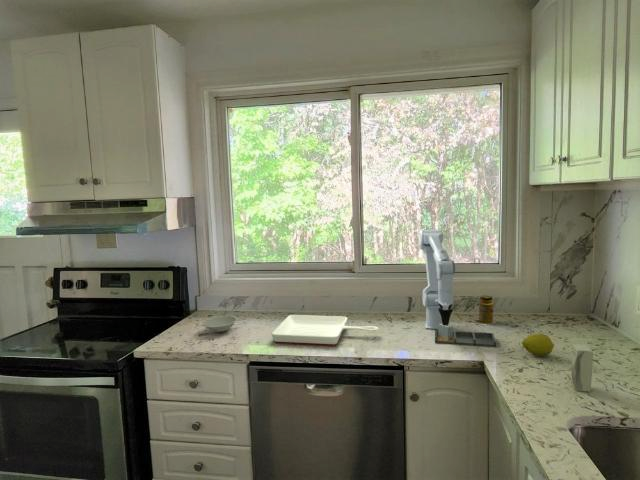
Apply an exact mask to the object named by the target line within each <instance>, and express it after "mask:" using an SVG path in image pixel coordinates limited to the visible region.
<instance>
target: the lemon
mask: <svg viewBox="0 0 640 480" xmlns="http://www.w3.org/2000/svg"><path fill="white" fill-rule="evenodd" d="M521 343H522V344H521V345H522V347H523V348H524V349H525V350H526V351H527V352H528V353H530V354H531V355H533V356H535V357H536V356H537V357H546V356H548V355H550V354H551V353H552V352H553V349H554V348H555V344H554V342H553V341H552V340H551V338H550V337H549V336H547V335H546V334H541V333H534V334H530V335H528V336H527V337H526V338H524V339H523V340H522V341H521Z"/></svg>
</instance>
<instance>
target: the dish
mask: <svg viewBox="0 0 640 480" xmlns="http://www.w3.org/2000/svg"><path fill="white" fill-rule="evenodd" d="M237 321H238V317H237V316H234V315H220V316H219V315H218V316H215V317H211V318H209V319H208V318H207V319H206V320H204V321H203V322H202V325H203V327H205V328H206V329H208V330H209V331H211V332H214V333H215V332H216V333H222V332H225V331H227V330H229V329H230V328H232V327H233V326H234V324H235V323H236V322H237Z"/></svg>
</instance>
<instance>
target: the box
mask: <svg viewBox="0 0 640 480" xmlns="http://www.w3.org/2000/svg"><path fill="white" fill-rule="evenodd" d="M590 347H591V346H589V345H584V344H572V358H571V374H570V375H571V376H570V384H571V386H572V388H573V390H574V391H578V392H586V391H587V392H586V393H588V392H589V393H591V392H592V379H593V378H592V376H593V362H594V360H593V359H594V350H592V348H590Z"/></svg>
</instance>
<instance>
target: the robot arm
mask: <svg viewBox="0 0 640 480" xmlns="http://www.w3.org/2000/svg"><path fill="white" fill-rule="evenodd" d="M443 239H444V233H443V230H441V229H426V230H425V229H420V231H419V232H418V243H419V248H420V250H422V251H423V254H424V259H425V261H424V262H425V269H426V270H425V271H426V280H427V286H426V287H425V288H423V289H422V292H421V293H422V300H421V301H422V305H423V307H425V308H426V309H425V310H426V311H425V312H426V313H425V314H426V316H425V318H426V319H425V320H426V321H425V324H424V325H425V326H424V328H425V329H431V330H438V324H443V325H445V326H448V325H450V318H451V316H452V313H453V311H454V308H452V305H453V304H454V299H453V298H454V275H455V273H456V264H455V261H454V260H453V259H451V258H450V256H449V254H448V251H447V250H446V249H444V248H443V244H442V243H443Z"/></svg>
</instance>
